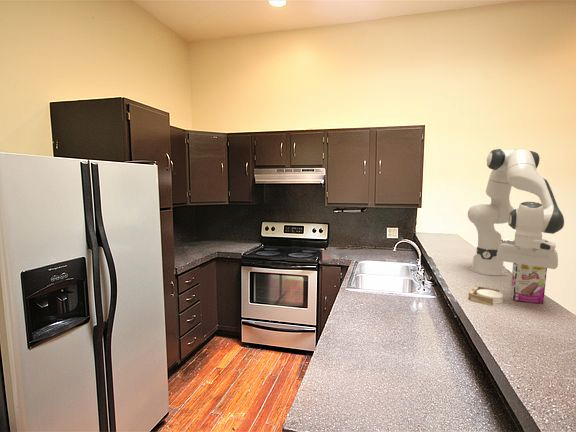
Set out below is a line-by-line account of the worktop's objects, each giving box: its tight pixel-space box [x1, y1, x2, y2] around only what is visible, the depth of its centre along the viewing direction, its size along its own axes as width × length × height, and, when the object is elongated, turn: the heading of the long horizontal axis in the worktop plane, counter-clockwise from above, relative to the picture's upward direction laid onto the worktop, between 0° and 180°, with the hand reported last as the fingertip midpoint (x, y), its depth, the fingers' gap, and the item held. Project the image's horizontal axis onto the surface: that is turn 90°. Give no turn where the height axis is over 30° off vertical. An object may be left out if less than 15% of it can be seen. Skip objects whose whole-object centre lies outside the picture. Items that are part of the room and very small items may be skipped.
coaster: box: [476, 289, 504, 305], centre depth 140 cm, size 10×10×4 cm
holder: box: [467, 285, 500, 306], centre depth 141 cm, size 15×9×3 cm, turn 137°
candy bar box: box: [509, 263, 548, 305], centre depth 138 cm, size 11×5×16 cm, turn 70°
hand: (524, 274), depth 131 cm, fingers closed
